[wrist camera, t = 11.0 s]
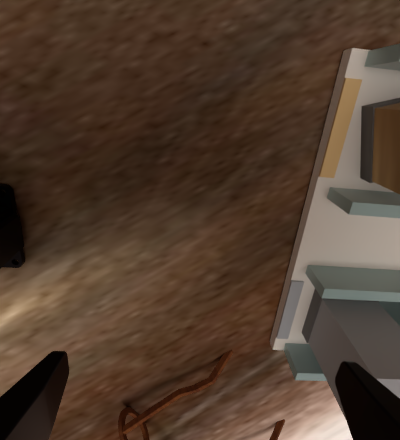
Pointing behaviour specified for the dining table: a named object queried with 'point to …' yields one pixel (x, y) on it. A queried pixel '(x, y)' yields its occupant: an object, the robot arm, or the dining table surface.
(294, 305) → the slot rack
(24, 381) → the robot arm
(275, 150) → the dining table surface
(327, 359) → the grey plug block
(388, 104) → the amber plug block
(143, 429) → the glasses
